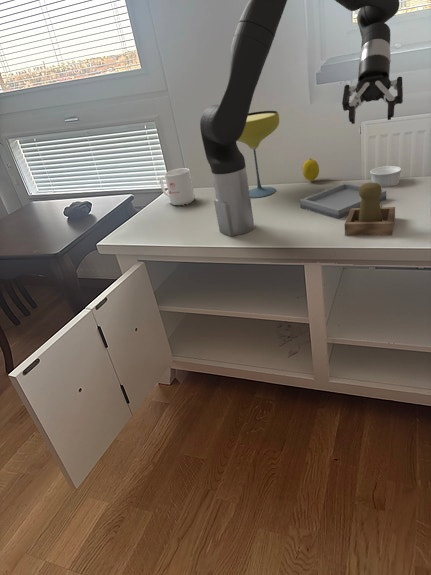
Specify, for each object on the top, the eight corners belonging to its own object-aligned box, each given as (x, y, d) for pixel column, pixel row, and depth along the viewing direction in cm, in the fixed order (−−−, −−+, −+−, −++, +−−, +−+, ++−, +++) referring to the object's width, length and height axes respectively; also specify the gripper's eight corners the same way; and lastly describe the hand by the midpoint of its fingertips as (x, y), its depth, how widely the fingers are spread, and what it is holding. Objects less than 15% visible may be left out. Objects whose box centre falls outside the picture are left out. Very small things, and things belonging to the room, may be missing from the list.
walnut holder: (344, 235, 107) (344, 224, 105) (351, 218, 115) (350, 208, 114) (391, 235, 102) (392, 223, 101) (394, 217, 111) (395, 206, 109)
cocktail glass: (273, 202, 138) (263, 120, 126) (225, 201, 147) (211, 125, 136) (294, 183, 151) (287, 108, 139) (248, 184, 160) (238, 113, 148)
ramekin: (374, 179, 140) (374, 166, 138) (403, 178, 136) (403, 165, 134) (367, 188, 134) (367, 174, 132) (397, 188, 130) (397, 173, 127)
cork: (366, 233, 106) (365, 190, 100) (353, 226, 111) (351, 184, 106) (388, 227, 107) (388, 183, 101) (374, 220, 112) (374, 178, 107)
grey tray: (338, 219, 116) (338, 210, 115) (300, 207, 129) (299, 199, 128) (386, 199, 123) (386, 190, 122) (345, 190, 136) (344, 182, 135)
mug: (199, 197, 157) (193, 167, 152) (188, 206, 150) (181, 175, 145) (171, 198, 162) (164, 169, 157) (159, 207, 155) (152, 177, 150)
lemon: (318, 178, 152) (317, 155, 148) (320, 182, 147) (319, 159, 143) (302, 180, 153) (301, 157, 149) (304, 185, 148) (302, 161, 144)
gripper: (343, 58, 110) (339, 114, 107) (404, 48, 105) (401, 106, 101) (347, 78, 117) (343, 131, 114) (404, 69, 111) (402, 125, 108)
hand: (370, 120), depth 107 cm, fingers open, 8 cm apart
